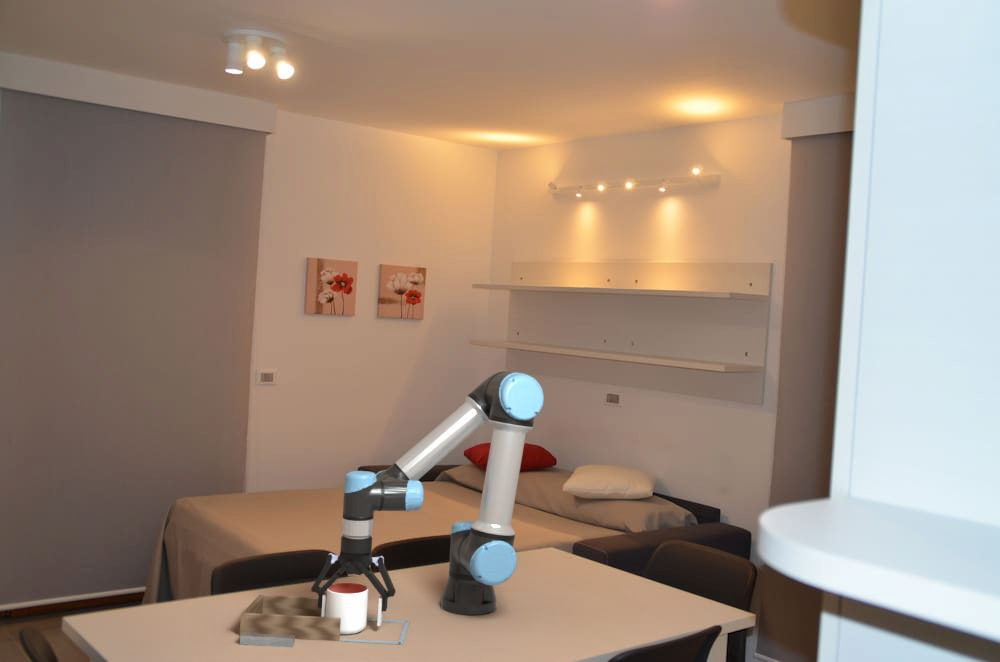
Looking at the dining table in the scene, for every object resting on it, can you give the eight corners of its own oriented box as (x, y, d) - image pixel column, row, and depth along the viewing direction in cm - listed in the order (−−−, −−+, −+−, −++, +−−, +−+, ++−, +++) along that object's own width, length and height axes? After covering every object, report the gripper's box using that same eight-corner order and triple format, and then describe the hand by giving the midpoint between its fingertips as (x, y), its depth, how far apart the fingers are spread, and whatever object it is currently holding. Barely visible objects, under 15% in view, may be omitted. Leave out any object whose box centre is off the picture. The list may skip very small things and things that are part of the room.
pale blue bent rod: (409, 621, 220) (409, 620, 220) (402, 644, 203) (402, 643, 203) (352, 618, 220) (352, 617, 220) (340, 641, 203) (340, 640, 203)
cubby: (350, 619, 219) (351, 599, 220) (338, 640, 203) (339, 619, 203) (258, 614, 219) (259, 594, 219) (239, 635, 203) (241, 614, 203)
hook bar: (296, 641, 201) (296, 632, 201) (292, 647, 197) (292, 638, 197) (244, 638, 201) (245, 629, 201) (239, 644, 197) (240, 635, 197)
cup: (358, 638, 206) (360, 595, 206) (318, 633, 207) (320, 591, 208) (371, 625, 216) (373, 584, 216) (333, 621, 217) (335, 580, 217)
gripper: (409, 535, 216) (404, 620, 215) (309, 529, 216) (303, 615, 215) (406, 541, 208) (401, 630, 208) (302, 535, 208) (296, 624, 208)
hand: (351, 622), depth 211 cm, fingers open, 13 cm apart
